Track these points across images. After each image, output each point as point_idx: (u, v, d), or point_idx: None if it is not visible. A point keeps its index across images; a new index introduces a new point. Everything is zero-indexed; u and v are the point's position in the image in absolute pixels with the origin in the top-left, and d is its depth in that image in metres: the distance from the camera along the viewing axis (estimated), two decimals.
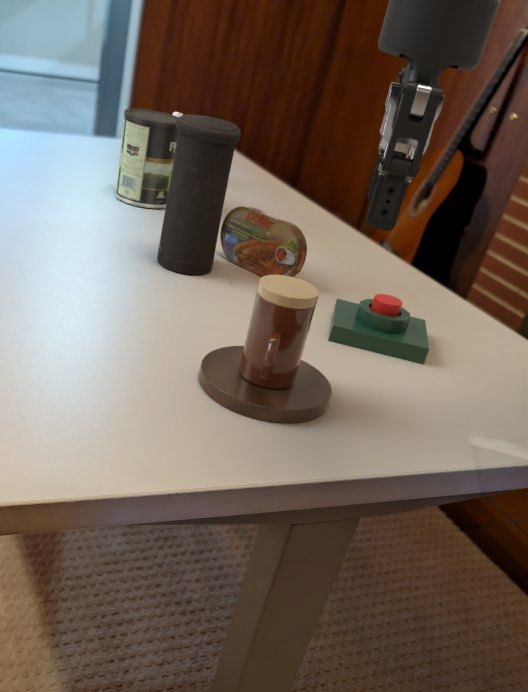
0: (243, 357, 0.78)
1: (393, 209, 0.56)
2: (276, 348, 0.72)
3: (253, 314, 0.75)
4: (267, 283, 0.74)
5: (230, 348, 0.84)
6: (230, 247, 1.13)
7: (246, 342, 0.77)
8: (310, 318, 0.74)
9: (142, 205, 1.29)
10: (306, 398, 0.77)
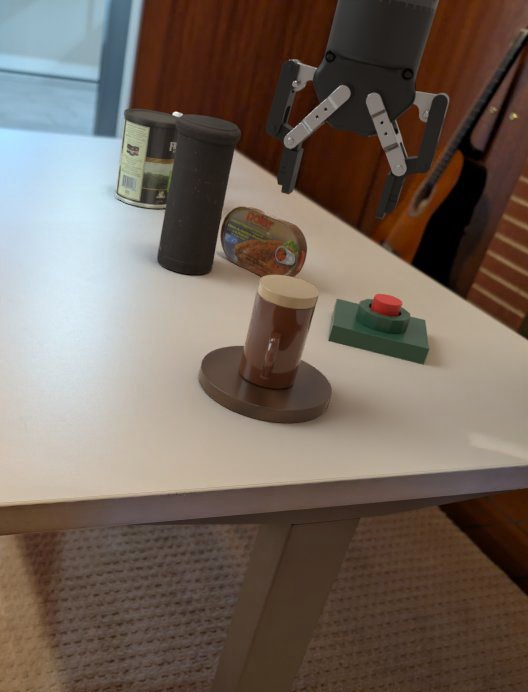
0: (243, 357, 0.78)
1: (398, 198, 0.65)
2: (276, 348, 0.72)
3: (253, 314, 0.75)
4: (267, 283, 0.74)
5: (230, 348, 0.84)
6: (230, 247, 1.13)
7: (246, 342, 0.77)
8: (310, 318, 0.74)
9: (142, 205, 1.29)
10: (306, 398, 0.77)
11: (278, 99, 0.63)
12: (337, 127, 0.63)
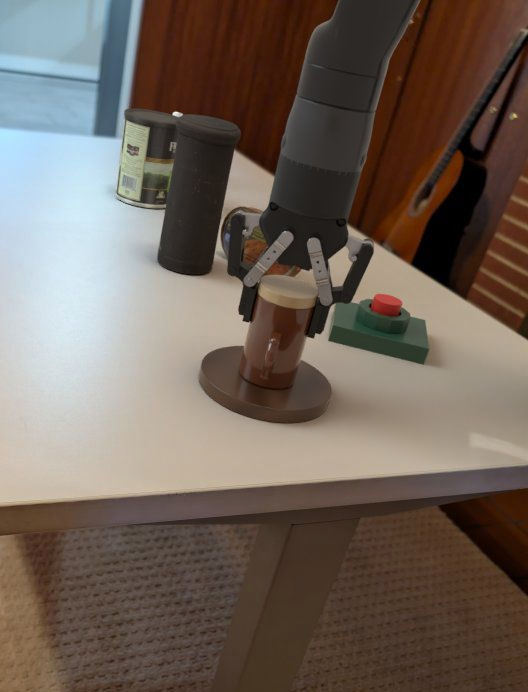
0: (243, 357, 0.78)
1: None
2: (276, 348, 0.72)
3: (253, 314, 0.75)
4: (267, 283, 0.74)
5: (230, 348, 0.84)
6: None
7: (246, 342, 0.77)
8: (310, 318, 0.74)
9: (142, 205, 1.29)
10: (306, 398, 0.77)
11: (233, 246, 0.72)
12: (282, 262, 0.72)
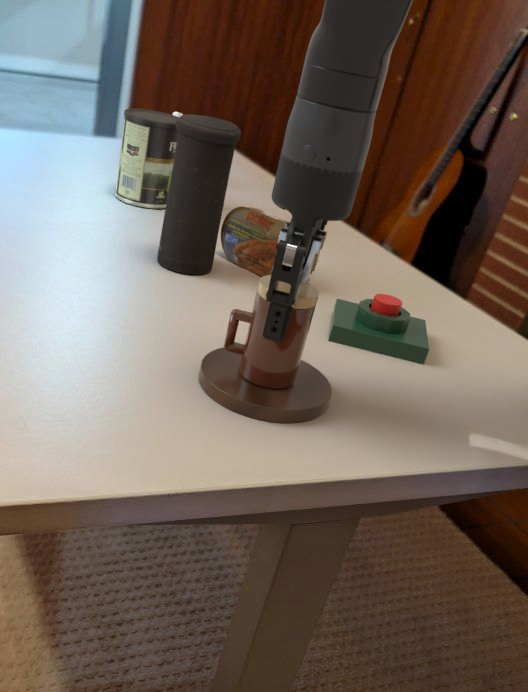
0: None
1: (280, 327, 0.72)
2: (231, 318, 0.77)
3: None
4: None
5: None
6: (230, 247, 1.13)
7: None
8: None
9: (142, 205, 1.29)
10: (306, 398, 0.77)
11: None
12: None
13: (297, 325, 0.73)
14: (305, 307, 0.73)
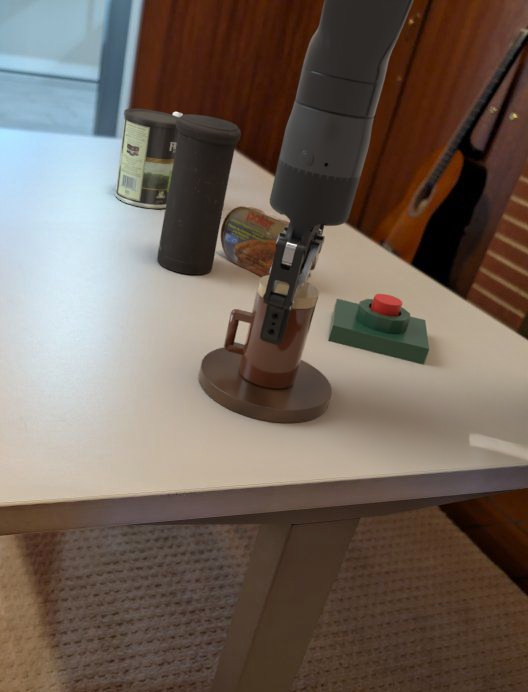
0: None
1: (278, 330, 0.71)
2: (231, 318, 0.77)
3: None
4: None
5: None
6: (230, 247, 1.13)
7: None
8: None
9: (142, 205, 1.29)
10: (306, 398, 0.77)
11: None
12: None
13: (297, 325, 0.73)
14: (305, 307, 0.73)
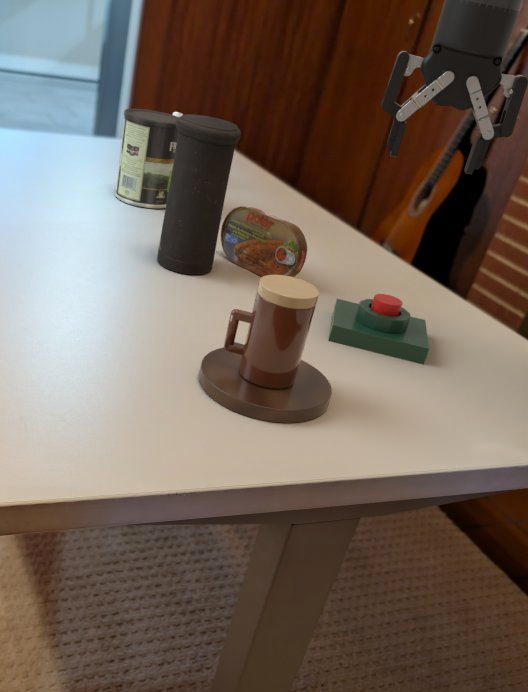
0: None
1: (389, 138, 0.84)
2: (231, 318, 0.77)
3: None
4: (284, 277, 0.76)
5: None
6: (230, 247, 1.13)
7: None
8: (270, 315, 0.73)
9: (142, 205, 1.29)
10: (306, 398, 0.77)
11: None
12: None
13: (297, 325, 0.73)
14: (305, 307, 0.73)
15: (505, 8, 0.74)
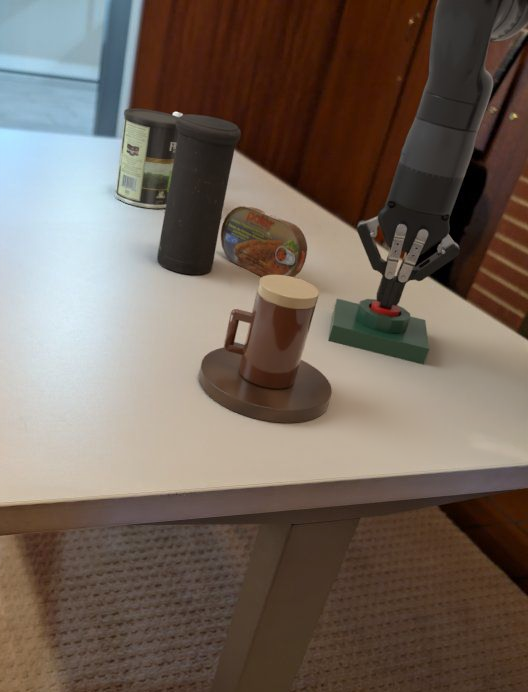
0: None
1: (378, 291, 0.94)
2: (231, 318, 0.77)
3: None
4: (284, 277, 0.76)
5: None
6: (230, 247, 1.13)
7: None
8: (270, 315, 0.73)
9: (142, 205, 1.29)
10: (306, 398, 0.77)
11: None
12: None
13: (297, 325, 0.73)
14: (305, 307, 0.73)
15: (450, 177, 0.83)
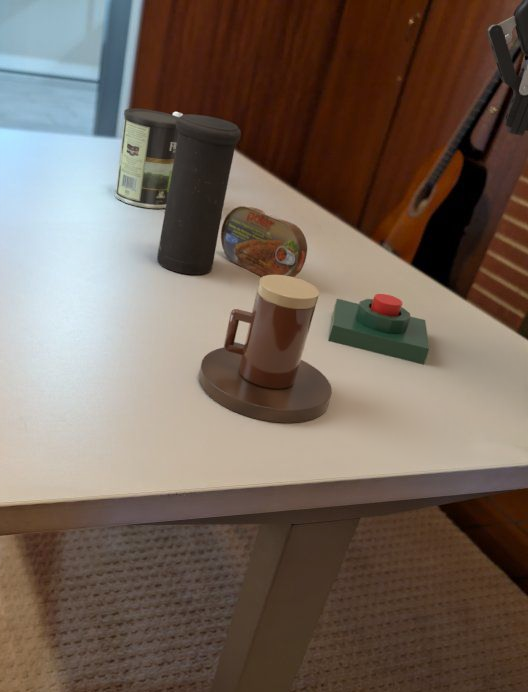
0: None
1: (508, 113, 0.80)
2: (231, 318, 0.77)
3: None
4: (284, 277, 0.76)
5: None
6: (230, 247, 1.13)
7: None
8: (270, 315, 0.73)
9: (142, 205, 1.29)
10: (306, 398, 0.77)
11: None
12: None
13: (297, 325, 0.73)
14: (305, 307, 0.73)
15: None
